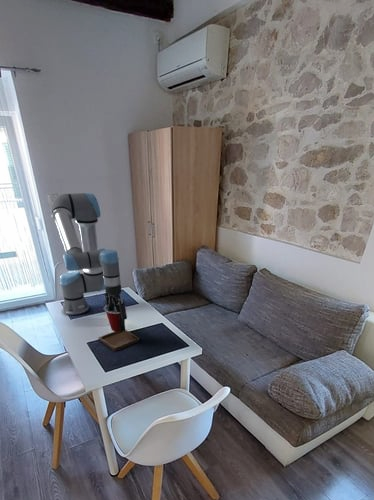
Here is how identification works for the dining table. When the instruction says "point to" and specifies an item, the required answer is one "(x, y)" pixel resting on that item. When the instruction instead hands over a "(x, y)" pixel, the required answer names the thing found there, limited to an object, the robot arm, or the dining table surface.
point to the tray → (119, 339)
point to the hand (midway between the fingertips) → (117, 327)
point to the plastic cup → (113, 318)
